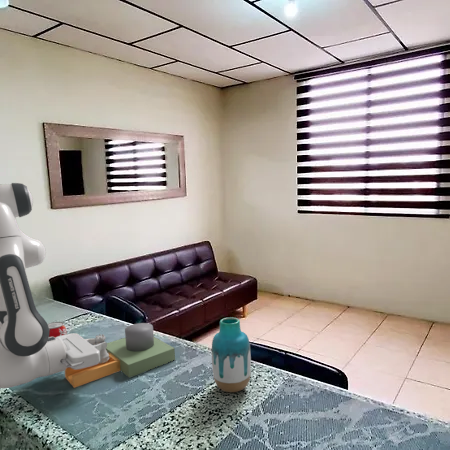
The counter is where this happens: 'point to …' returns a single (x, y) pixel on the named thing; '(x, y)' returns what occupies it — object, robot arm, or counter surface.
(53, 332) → the soda can
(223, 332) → the vase
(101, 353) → the rook chess piece
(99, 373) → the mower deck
